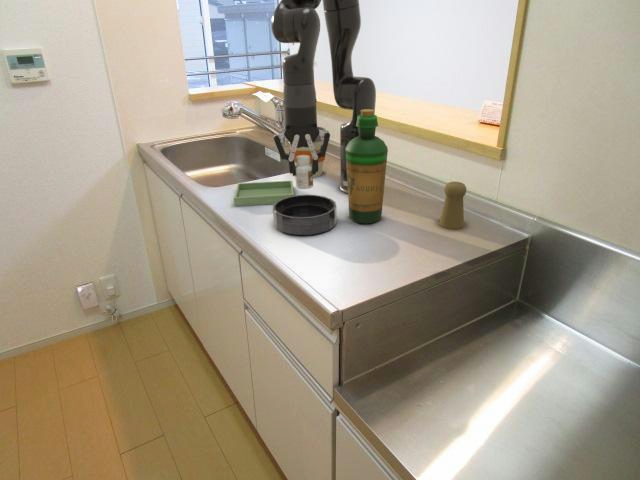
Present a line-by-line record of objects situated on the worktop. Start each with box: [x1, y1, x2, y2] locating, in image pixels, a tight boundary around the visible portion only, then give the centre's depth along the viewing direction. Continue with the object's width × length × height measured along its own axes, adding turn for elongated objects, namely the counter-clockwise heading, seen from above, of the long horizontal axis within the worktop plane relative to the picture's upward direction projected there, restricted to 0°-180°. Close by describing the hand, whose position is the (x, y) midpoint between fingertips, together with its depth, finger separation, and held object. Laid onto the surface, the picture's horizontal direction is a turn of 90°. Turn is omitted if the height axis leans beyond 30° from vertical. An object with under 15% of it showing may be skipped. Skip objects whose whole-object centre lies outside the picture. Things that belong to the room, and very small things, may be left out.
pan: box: [272, 194, 338, 236], centre depth 117 cm, size 16×16×5 cm
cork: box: [439, 181, 467, 230], centre depth 112 cm, size 6×6×11 cm
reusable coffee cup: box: [294, 126, 327, 178], centre depth 153 cm, size 13×13×15 cm
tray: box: [233, 180, 295, 207], centre depth 136 cm, size 17×13×2 cm
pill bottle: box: [294, 155, 314, 190], centre depth 112 cm, size 4×4×8 cm
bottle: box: [346, 109, 389, 225], centre depth 113 cm, size 11×11×28 cm
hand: (303, 173), depth 112 cm, fingers closed on pill bottle, 4 cm apart
